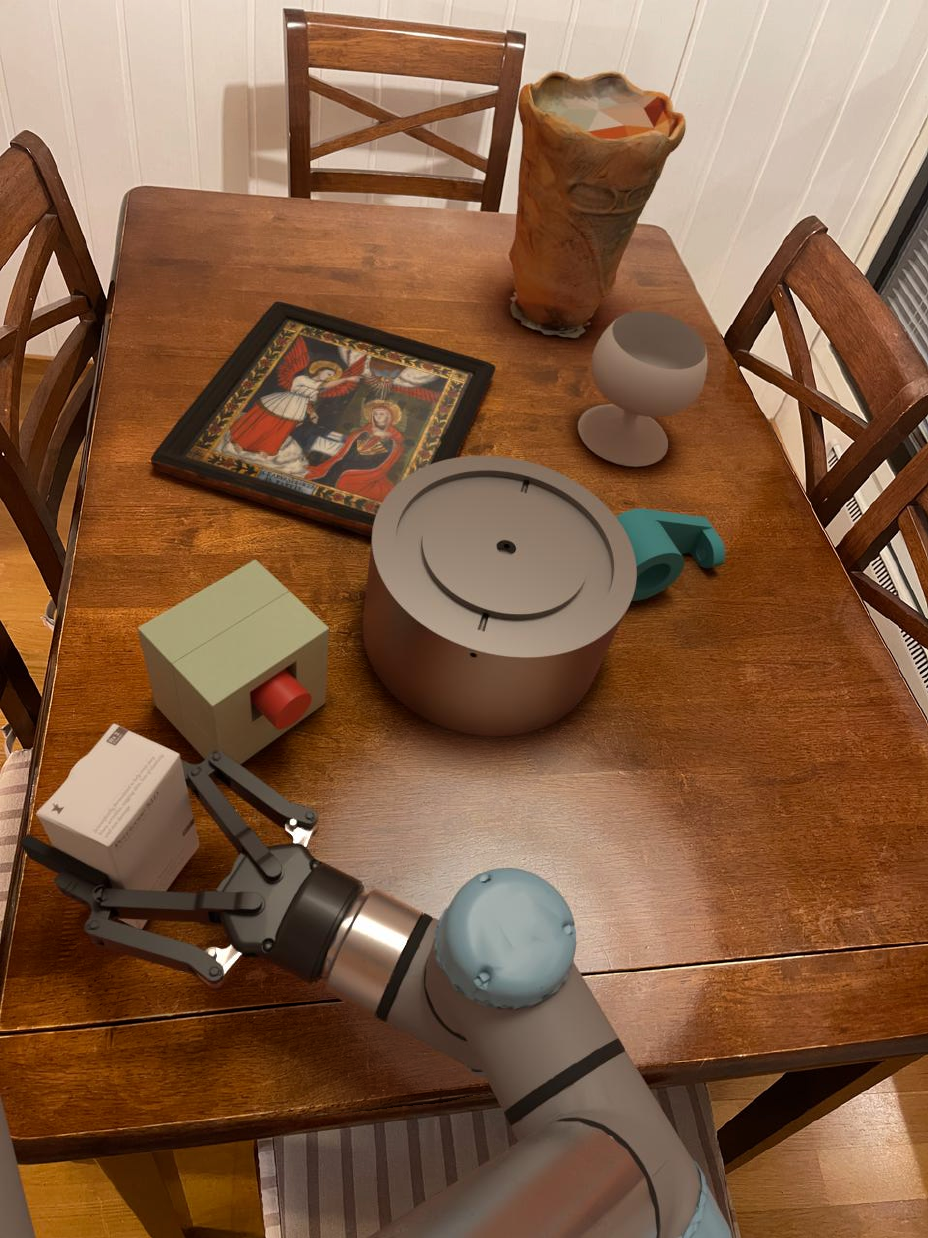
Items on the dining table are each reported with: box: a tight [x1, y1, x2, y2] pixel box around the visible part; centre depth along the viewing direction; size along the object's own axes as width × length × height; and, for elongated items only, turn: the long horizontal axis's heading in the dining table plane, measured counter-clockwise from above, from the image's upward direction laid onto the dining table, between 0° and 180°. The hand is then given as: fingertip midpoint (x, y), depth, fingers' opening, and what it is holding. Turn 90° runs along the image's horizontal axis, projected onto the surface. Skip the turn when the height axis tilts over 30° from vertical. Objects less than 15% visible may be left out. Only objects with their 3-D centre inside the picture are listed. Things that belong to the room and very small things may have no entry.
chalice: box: [577, 310, 709, 468], centre depth 110 cm, size 14×14×15 cm
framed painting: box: [150, 301, 496, 538], centre depth 108 cm, size 38×35×3 cm
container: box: [362, 455, 637, 737], centre depth 88 cm, size 25×25×13 cm
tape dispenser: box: [615, 508, 726, 602], centre depth 99 cm, size 7×15×8 cm, turn 111°
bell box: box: [137, 559, 330, 765], centre depth 79 cm, size 10×12×12 cm
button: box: [250, 669, 312, 729], centre depth 75 cm, size 6×4×4 cm
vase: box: [508, 70, 687, 339], centre depth 121 cm, size 21×20×30 cm
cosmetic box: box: [35, 723, 200, 930], centre depth 65 cm, size 8×6×15 cm
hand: (70, 795), depth 65 cm, fingers closed on cosmetic box, 8 cm apart
